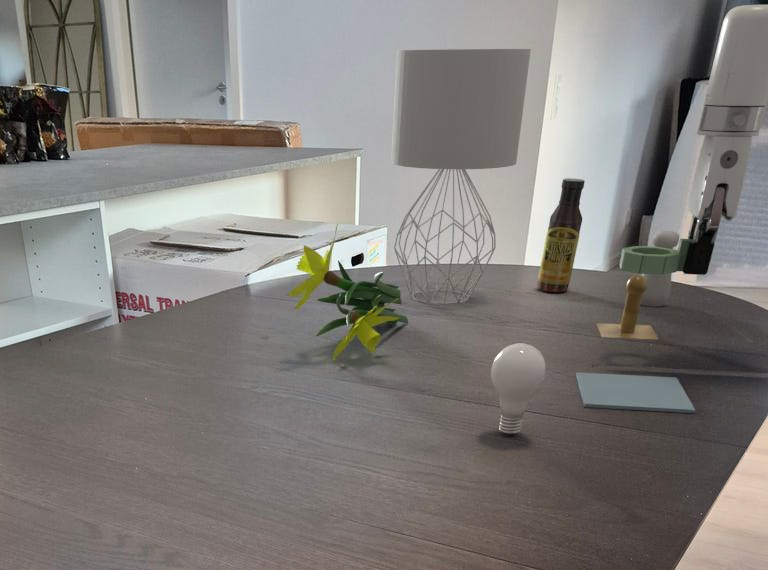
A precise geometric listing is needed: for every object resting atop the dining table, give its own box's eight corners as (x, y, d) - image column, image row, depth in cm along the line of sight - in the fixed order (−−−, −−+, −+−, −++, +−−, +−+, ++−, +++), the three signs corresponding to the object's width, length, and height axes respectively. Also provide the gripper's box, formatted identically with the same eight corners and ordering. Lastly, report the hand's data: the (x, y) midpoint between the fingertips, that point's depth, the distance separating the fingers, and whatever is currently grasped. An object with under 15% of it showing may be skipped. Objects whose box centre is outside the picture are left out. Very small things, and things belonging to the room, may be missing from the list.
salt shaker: (662, 313, 155) (680, 235, 148) (630, 309, 157) (647, 232, 150) (670, 306, 159) (688, 230, 152) (638, 302, 162) (655, 228, 154)
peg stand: (649, 330, 145) (663, 270, 140) (658, 344, 138) (672, 281, 133) (595, 327, 147) (606, 268, 141) (600, 341, 140) (612, 279, 134)
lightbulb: (537, 445, 102) (552, 352, 96) (483, 442, 103) (495, 350, 97) (533, 426, 107) (548, 338, 101) (482, 424, 108) (493, 336, 102)
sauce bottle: (534, 292, 169) (551, 180, 158) (538, 286, 174) (555, 176, 163) (568, 295, 167) (587, 181, 156) (571, 288, 172) (590, 177, 161)
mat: (675, 380, 122) (676, 377, 122) (694, 413, 111) (695, 409, 111) (575, 375, 125) (576, 372, 124) (584, 407, 113) (584, 403, 113)
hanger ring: (698, 265, 124) (706, 236, 122) (708, 276, 118) (716, 245, 116) (617, 262, 126) (623, 233, 124) (622, 273, 120) (629, 242, 118)
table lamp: (519, 307, 160) (555, 48, 137) (407, 315, 155) (426, 49, 132) (469, 282, 177) (494, 50, 155) (368, 288, 173) (379, 50, 150)
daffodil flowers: (449, 333, 147) (389, 323, 117) (376, 372, 154) (301, 372, 124) (412, 240, 146) (341, 205, 115) (340, 284, 153) (255, 261, 122)
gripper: (776, 126, 104) (732, 285, 114) (747, 119, 117) (710, 262, 127) (711, 125, 105) (673, 282, 116) (690, 118, 118) (657, 260, 129)
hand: (693, 271), depth 121 cm, fingers closed on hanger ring
